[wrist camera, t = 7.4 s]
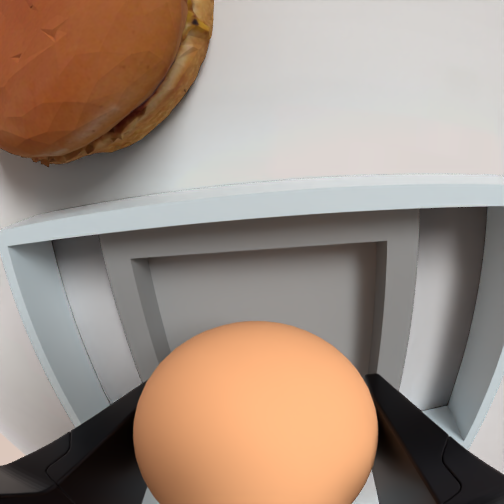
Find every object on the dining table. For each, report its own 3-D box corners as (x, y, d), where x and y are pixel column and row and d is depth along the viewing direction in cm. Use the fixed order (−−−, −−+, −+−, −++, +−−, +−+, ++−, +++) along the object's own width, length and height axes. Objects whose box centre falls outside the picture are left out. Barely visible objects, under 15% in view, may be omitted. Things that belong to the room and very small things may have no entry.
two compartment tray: (408, 503, 16) (413, 529, 13) (164, 507, 18) (156, 532, 15) (499, 175, 9) (542, 185, 6) (35, 215, 11) (-6, 231, 9)
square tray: (381, 412, 12) (387, 436, 11) (175, 418, 14) (166, 440, 12) (402, 195, 10) (419, 204, 8) (119, 219, 11) (97, 230, 9)
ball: (350, 420, 10) (369, 562, 5) (193, 423, 11) (151, 553, 6) (361, 273, 9) (443, 447, 3) (155, 285, 9) (37, 430, 4)
